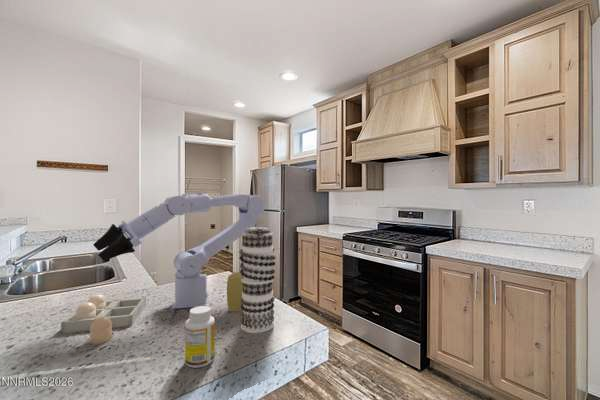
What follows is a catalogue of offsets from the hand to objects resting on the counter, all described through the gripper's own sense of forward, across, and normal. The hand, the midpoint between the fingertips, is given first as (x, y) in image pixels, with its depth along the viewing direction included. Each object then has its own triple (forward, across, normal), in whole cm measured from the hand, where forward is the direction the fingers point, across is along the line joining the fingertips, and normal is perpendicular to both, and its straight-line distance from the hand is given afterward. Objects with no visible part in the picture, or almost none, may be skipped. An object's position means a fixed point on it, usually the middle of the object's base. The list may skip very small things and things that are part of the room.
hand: (98, 252), depth 73 cm
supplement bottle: (-4, +39, +14) cm, 42 cm away
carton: (+8, +4, +16) cm, 18 cm away
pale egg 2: (+10, 0, +16) cm, 18 cm away
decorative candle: (-18, +34, +25) cm, 46 cm away
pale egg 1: (+12, +5, +13) cm, 18 cm away
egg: (+9, +17, +12) cm, 23 cm away
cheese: (-21, +22, +31) cm, 43 cm away
